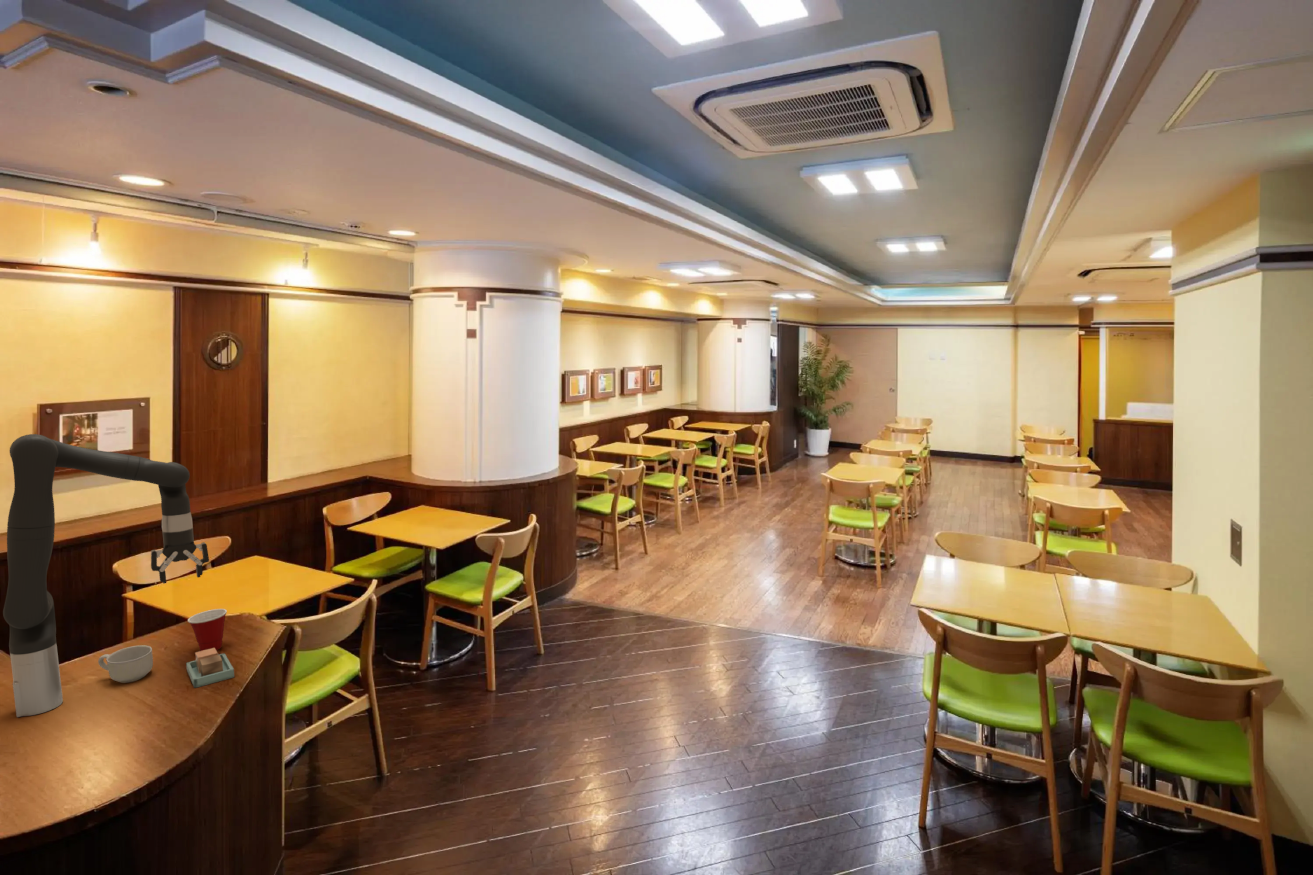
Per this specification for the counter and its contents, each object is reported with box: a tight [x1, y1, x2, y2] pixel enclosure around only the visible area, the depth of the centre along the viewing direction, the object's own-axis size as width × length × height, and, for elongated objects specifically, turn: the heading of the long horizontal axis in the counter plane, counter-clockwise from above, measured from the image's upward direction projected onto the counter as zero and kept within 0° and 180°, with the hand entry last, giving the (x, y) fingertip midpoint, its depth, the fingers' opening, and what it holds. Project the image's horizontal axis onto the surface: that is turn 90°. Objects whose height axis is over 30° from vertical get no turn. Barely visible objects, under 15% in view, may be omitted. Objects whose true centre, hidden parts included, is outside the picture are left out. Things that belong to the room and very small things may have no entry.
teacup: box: [97, 644, 154, 684], centre depth 198 cm, size 14×11×8 cm
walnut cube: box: [200, 654, 223, 677], centre depth 198 cm, size 5×5×5 cm
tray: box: [185, 652, 235, 689], centre depth 200 cm, size 10×15×2 cm, turn 42°
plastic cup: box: [187, 608, 227, 651], centre depth 217 cm, size 11×11×12 cm
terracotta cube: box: [194, 648, 219, 673], centre depth 203 cm, size 5×5×5 cm
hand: (181, 579), depth 202 cm, fingers open, 8 cm apart
